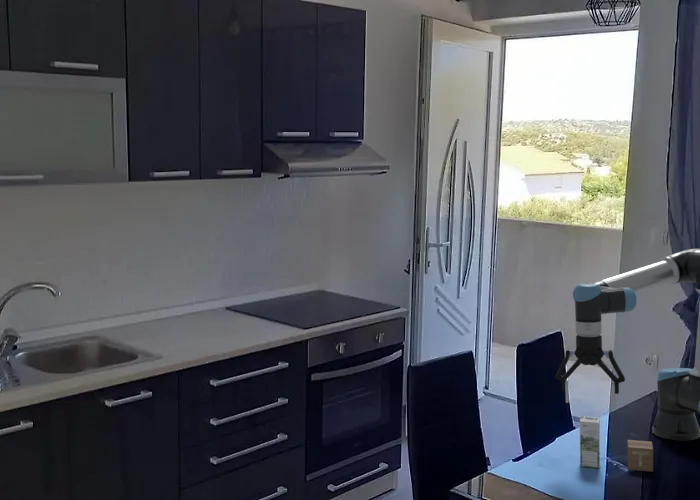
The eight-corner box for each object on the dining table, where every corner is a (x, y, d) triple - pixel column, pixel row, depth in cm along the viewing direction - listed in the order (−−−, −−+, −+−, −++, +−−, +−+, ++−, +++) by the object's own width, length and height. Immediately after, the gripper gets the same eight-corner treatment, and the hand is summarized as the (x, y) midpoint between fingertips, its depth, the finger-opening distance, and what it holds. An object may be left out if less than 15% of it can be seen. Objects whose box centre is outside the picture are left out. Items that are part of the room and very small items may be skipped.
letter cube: (627, 461, 229) (627, 439, 228) (652, 464, 226) (651, 441, 226) (628, 470, 222) (627, 447, 222) (653, 472, 220) (653, 449, 219)
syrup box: (600, 462, 229) (599, 416, 228) (599, 469, 223) (599, 422, 222) (580, 460, 231) (580, 415, 230) (579, 467, 225) (579, 420, 224)
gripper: (545, 336, 225) (547, 404, 227) (632, 337, 217) (634, 408, 218) (547, 331, 232) (549, 397, 234) (632, 333, 224) (633, 401, 225)
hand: (590, 403), depth 226 cm, fingers open, 13 cm apart
